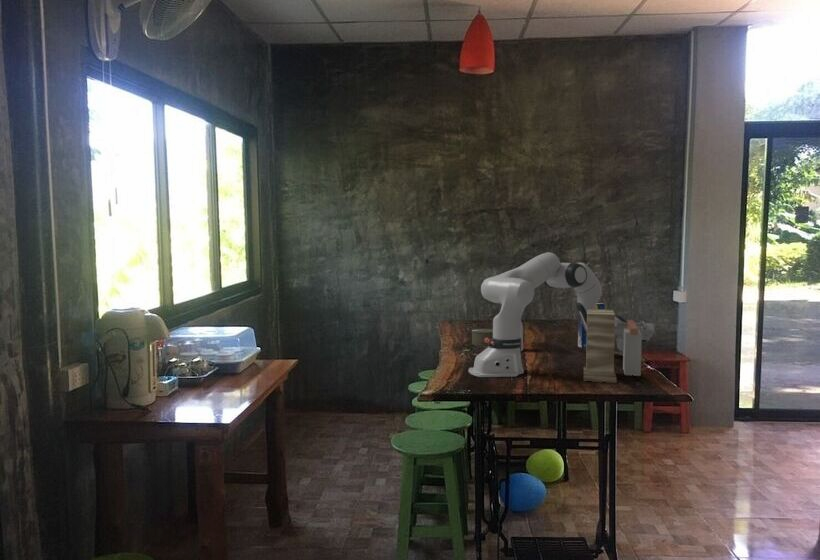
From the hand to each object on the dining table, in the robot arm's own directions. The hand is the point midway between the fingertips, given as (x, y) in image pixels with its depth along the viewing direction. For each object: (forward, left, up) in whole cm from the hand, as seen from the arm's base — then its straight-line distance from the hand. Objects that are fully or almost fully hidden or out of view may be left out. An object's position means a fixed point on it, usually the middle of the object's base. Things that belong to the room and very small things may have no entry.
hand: (630, 322), depth 269 cm
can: (-41, +68, -19) cm, 82 cm away
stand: (-23, -14, -19) cm, 33 cm away
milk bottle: (-33, +46, -19) cm, 60 cm away
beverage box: (+7, +44, -19) cm, 49 cm away
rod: (-4, -8, -2) cm, 9 cm away
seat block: (-5, -10, -19) cm, 22 cm away
